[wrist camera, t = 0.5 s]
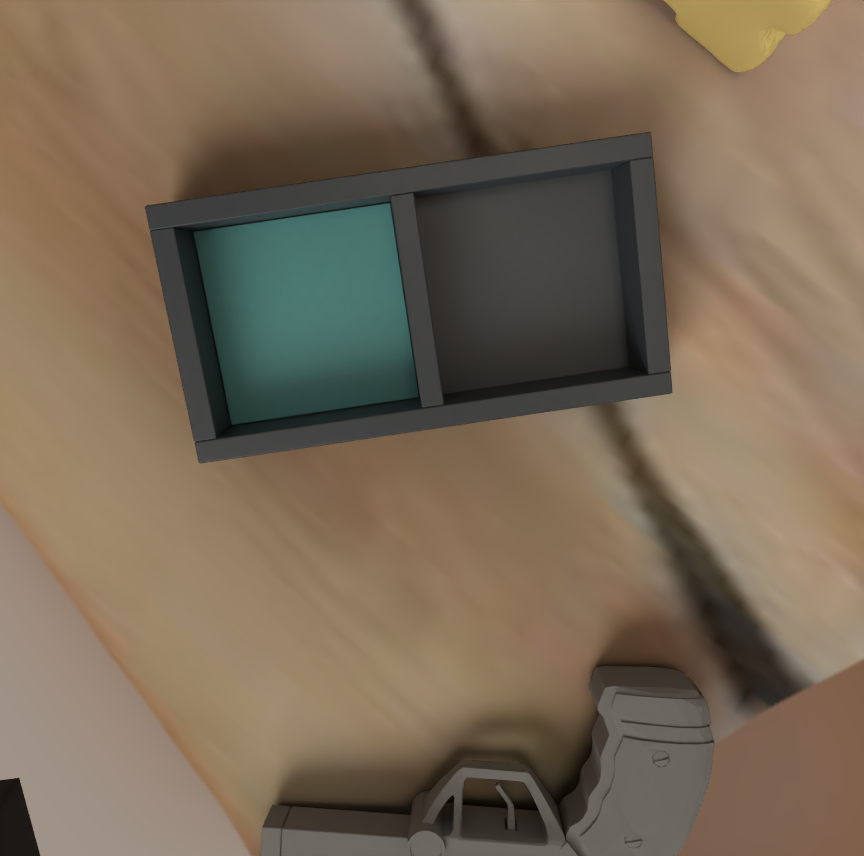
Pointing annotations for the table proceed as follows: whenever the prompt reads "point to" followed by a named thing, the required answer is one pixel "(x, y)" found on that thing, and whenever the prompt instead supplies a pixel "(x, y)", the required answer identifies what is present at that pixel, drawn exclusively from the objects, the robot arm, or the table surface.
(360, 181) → the box
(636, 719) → the revolver
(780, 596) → the table surface
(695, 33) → the cheese
